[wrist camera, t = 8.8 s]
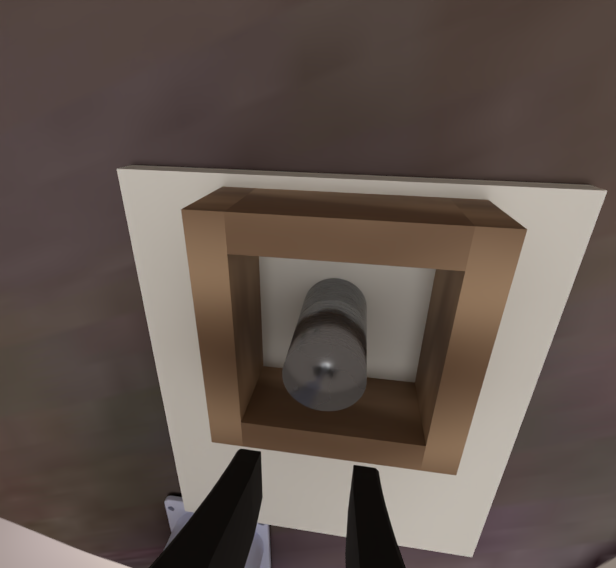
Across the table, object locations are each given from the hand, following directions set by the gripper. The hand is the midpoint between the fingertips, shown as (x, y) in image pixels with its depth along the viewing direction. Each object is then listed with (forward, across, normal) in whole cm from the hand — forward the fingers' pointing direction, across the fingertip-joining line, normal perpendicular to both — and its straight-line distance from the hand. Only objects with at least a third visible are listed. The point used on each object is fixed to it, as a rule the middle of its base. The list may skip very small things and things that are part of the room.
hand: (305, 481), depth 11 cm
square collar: (+8, 0, -1) cm, 9 cm away
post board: (+10, 0, +5) cm, 11 cm away
